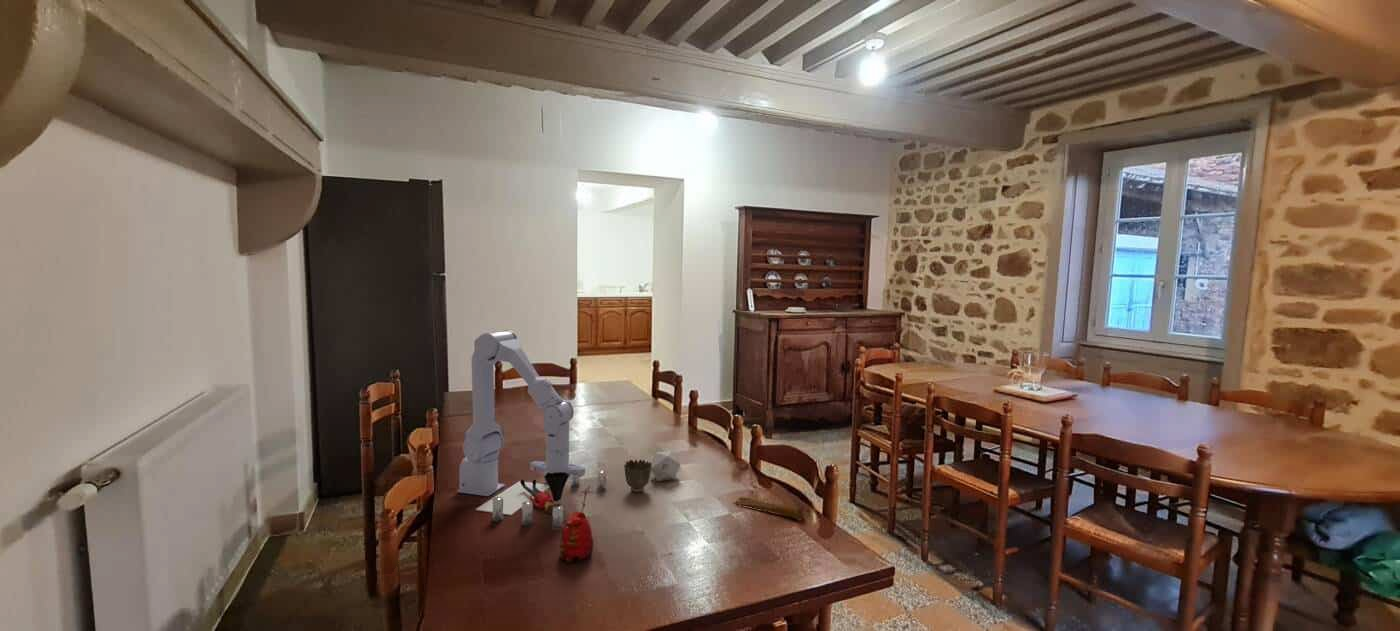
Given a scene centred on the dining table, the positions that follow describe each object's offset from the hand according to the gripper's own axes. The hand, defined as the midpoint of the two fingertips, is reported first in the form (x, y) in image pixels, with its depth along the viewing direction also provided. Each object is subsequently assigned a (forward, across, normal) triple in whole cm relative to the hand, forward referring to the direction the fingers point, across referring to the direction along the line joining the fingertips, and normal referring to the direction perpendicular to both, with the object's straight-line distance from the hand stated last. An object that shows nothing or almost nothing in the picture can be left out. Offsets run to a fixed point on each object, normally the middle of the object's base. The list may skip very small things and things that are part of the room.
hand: (557, 499), depth 149 cm
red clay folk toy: (+1, +17, -23) cm, 29 cm away
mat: (+1, -12, 0) cm, 12 cm away
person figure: (+1, -5, -1) cm, 5 cm away
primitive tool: (+2, +53, +13) cm, 54 cm away
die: (+1, +21, +26) cm, 33 cm away
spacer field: (+1, -2, 0) cm, 2 cm away
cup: (+1, +17, +14) cm, 22 cm away
